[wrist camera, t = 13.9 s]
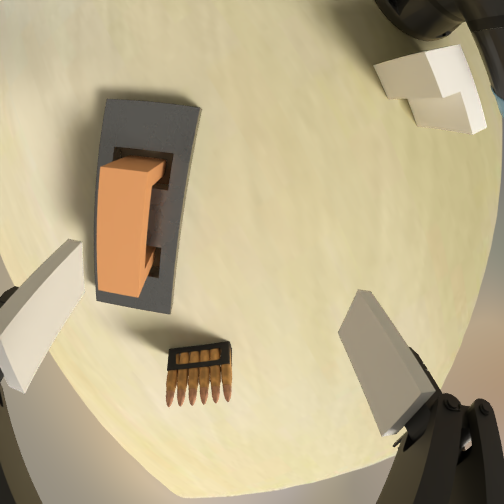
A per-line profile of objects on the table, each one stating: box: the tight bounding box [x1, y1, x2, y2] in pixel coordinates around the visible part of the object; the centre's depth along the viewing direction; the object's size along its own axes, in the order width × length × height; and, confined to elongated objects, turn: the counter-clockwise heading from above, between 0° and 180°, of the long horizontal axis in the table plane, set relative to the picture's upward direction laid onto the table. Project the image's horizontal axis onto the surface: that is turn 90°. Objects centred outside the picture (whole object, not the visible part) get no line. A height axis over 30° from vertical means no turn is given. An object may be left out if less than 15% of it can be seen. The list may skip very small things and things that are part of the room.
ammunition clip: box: [166, 341, 232, 407], centre depth 42 cm, size 11×2×12 cm, turn 98°
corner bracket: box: [373, 44, 487, 135], centre depth 27 cm, size 11×11×12 cm
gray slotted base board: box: [94, 99, 202, 314], centre depth 36 cm, size 28×12×3 cm, turn 168°
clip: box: [97, 155, 166, 298], centre depth 32 cm, size 14×5×10 cm, turn 168°
